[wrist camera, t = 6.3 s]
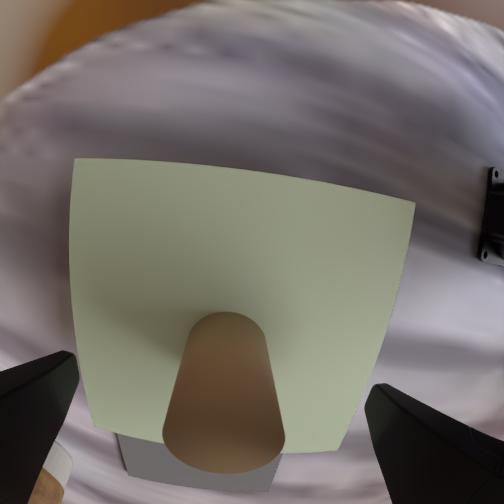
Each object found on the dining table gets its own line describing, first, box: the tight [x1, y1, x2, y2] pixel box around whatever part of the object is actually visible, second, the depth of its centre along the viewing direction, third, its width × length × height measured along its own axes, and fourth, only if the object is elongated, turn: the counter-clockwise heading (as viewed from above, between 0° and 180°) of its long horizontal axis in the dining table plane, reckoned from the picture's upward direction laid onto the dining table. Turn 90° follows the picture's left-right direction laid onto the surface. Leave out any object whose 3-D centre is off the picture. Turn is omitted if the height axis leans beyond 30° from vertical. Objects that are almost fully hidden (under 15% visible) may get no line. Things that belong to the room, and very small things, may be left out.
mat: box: [117, 433, 283, 492], centre depth 17 cm, size 12×12×1 cm
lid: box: [69, 158, 416, 474], centre depth 8 cm, size 12×12×6 cm
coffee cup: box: [28, 441, 73, 504], centre depth 10 cm, size 8×8×15 cm
